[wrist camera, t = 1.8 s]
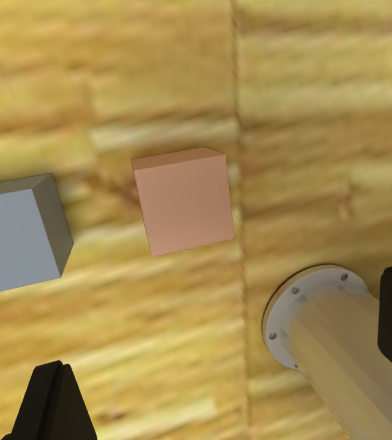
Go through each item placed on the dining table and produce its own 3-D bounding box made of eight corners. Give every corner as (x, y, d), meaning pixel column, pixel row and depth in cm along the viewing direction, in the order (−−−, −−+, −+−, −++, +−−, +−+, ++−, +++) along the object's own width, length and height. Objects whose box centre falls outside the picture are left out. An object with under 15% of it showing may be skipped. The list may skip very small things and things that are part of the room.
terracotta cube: (202, 147, 26) (225, 154, 20) (211, 214, 28) (234, 238, 22) (130, 159, 25) (133, 170, 19) (145, 228, 27) (152, 257, 21)
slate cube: (52, 172, 24) (31, 188, 18) (73, 243, 26) (60, 277, 20) (-33, 187, 23) (-83, 208, 17) (-4, 260, 25) (-41, 300, 19)
